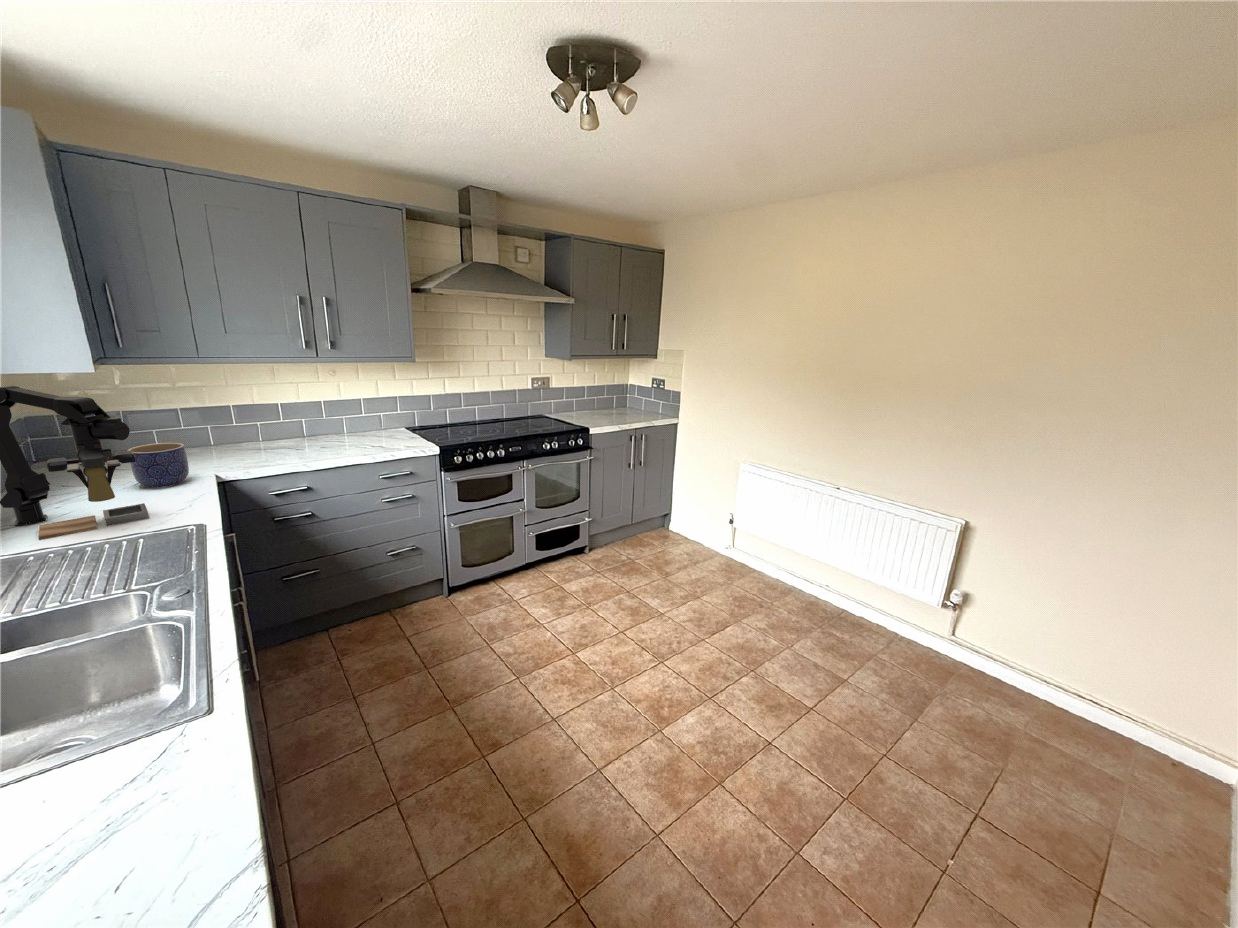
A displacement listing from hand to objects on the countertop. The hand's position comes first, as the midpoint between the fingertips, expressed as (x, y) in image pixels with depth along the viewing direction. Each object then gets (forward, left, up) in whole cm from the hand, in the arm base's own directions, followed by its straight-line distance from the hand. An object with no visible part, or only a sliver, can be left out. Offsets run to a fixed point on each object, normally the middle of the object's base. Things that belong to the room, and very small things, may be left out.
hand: (98, 486), depth 156 cm
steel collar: (0, +4, -12) cm, 13 cm away
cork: (0, 0, -4) cm, 4 cm away
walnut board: (0, -9, -12) cm, 15 cm away
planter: (-36, +17, -12) cm, 42 cm away
